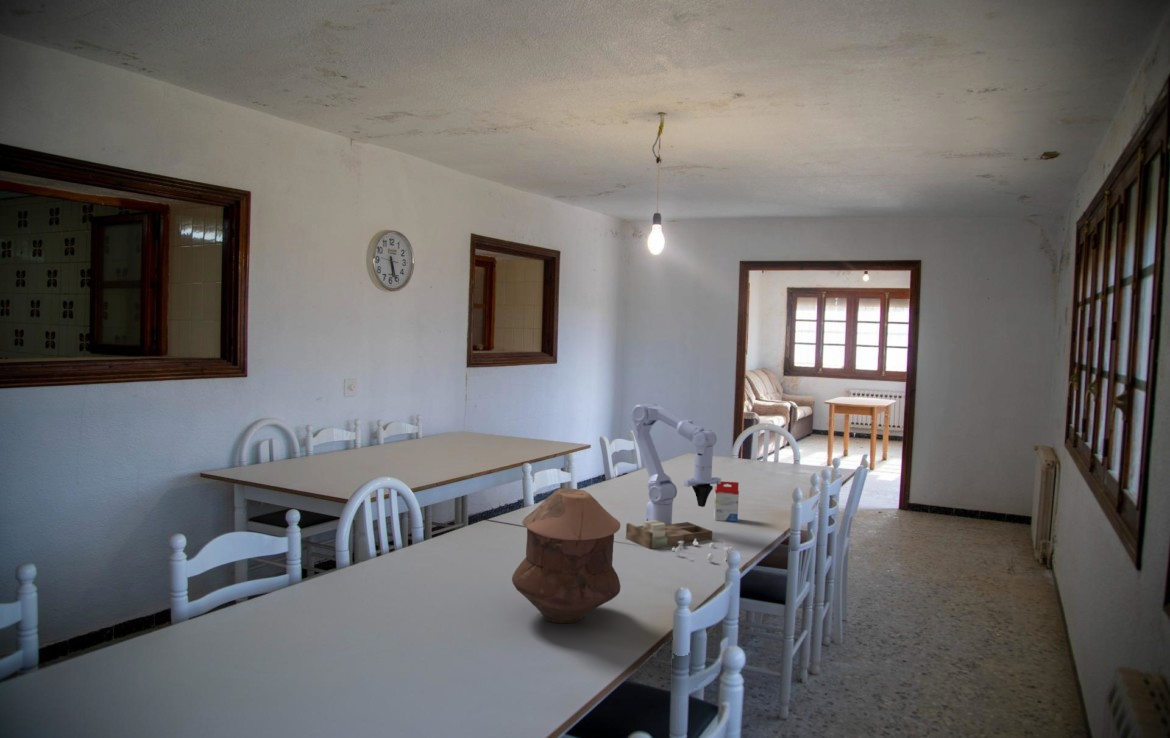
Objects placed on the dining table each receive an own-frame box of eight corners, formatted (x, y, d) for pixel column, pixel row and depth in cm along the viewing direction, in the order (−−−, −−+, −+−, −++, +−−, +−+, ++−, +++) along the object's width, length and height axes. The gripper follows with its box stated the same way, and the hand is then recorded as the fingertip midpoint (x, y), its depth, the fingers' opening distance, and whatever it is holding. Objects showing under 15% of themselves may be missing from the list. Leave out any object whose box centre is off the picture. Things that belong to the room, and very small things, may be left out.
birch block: (642, 533, 247) (643, 521, 247) (655, 532, 250) (655, 520, 250) (652, 537, 243) (652, 525, 243) (664, 536, 246) (665, 523, 246)
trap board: (622, 536, 254) (623, 522, 254) (683, 529, 268) (684, 515, 267) (649, 548, 241) (650, 533, 241) (712, 539, 255) (712, 525, 255)
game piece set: (734, 567, 227) (735, 554, 227) (667, 560, 231) (667, 548, 230) (734, 549, 246) (735, 537, 246) (672, 543, 250) (673, 532, 249)
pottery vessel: (539, 591, 198) (543, 476, 196) (633, 607, 188) (638, 487, 187) (491, 625, 174) (496, 494, 172) (596, 646, 164) (602, 508, 163)
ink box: (736, 518, 287) (738, 480, 286) (737, 522, 282) (739, 482, 281) (713, 517, 287) (715, 478, 287) (714, 520, 282) (716, 481, 282)
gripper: (694, 469, 250) (692, 510, 251) (727, 467, 258) (725, 506, 259) (680, 465, 256) (678, 505, 257) (713, 463, 264) (711, 502, 265)
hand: (701, 506), depth 258 cm, fingers closed
